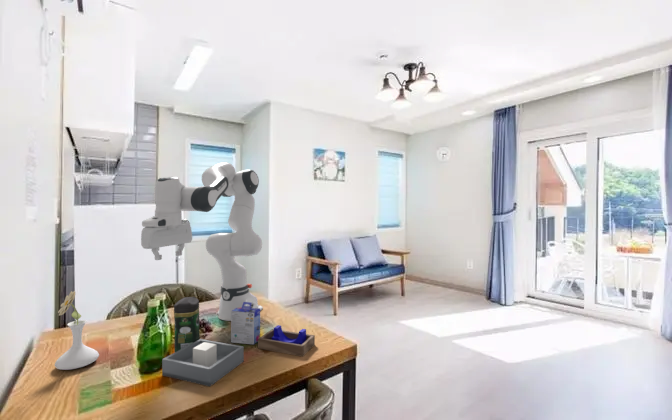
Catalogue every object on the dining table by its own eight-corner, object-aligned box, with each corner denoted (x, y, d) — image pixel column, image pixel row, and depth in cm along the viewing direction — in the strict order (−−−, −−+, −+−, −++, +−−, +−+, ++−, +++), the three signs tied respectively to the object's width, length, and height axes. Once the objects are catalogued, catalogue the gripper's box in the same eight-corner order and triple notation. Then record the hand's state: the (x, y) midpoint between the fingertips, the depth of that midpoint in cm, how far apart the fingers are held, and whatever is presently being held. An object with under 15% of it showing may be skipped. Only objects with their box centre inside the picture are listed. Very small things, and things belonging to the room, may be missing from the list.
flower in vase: (61, 360, 109) (60, 286, 109) (102, 354, 114) (102, 282, 114) (46, 379, 98) (45, 296, 97) (92, 371, 102) (91, 292, 102)
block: (204, 360, 108) (204, 342, 108) (216, 362, 106) (216, 344, 106) (192, 367, 103) (192, 348, 103) (205, 369, 101) (205, 350, 101)
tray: (200, 352, 115) (200, 338, 115) (243, 361, 109) (243, 346, 109) (162, 375, 100) (162, 359, 100) (209, 386, 94) (209, 369, 94)
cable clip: (271, 345, 122) (271, 329, 122) (277, 340, 126) (277, 325, 126) (300, 350, 118) (300, 333, 118) (306, 345, 122) (306, 329, 122)
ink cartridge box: (261, 339, 127) (260, 302, 127) (254, 345, 121) (254, 306, 121) (237, 337, 129) (237, 300, 129) (230, 343, 123) (230, 304, 123)
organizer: (272, 337, 128) (272, 329, 128) (314, 344, 122) (314, 335, 122) (258, 348, 119) (258, 338, 119) (302, 356, 112) (302, 346, 112)
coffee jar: (178, 345, 121) (178, 295, 121) (201, 343, 123) (201, 294, 122) (171, 357, 112) (170, 303, 111) (196, 355, 113) (195, 302, 113)
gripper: (183, 218, 132) (183, 252, 132) (137, 222, 113) (138, 261, 113) (195, 219, 130) (196, 253, 130) (151, 222, 110) (152, 263, 111)
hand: (169, 257), depth 121 cm, fingers open, 8 cm apart
